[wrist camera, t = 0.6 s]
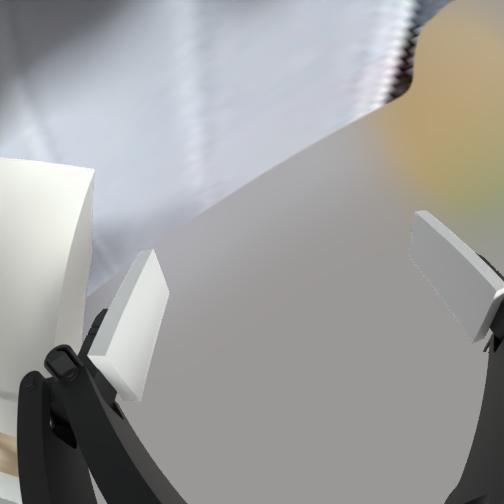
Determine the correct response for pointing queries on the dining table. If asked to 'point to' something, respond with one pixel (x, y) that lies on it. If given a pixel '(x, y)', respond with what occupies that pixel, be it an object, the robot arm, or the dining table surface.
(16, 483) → the grey offcut
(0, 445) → the birch offcut
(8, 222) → the cream stand
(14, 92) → the dining table surface
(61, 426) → the robot arm
